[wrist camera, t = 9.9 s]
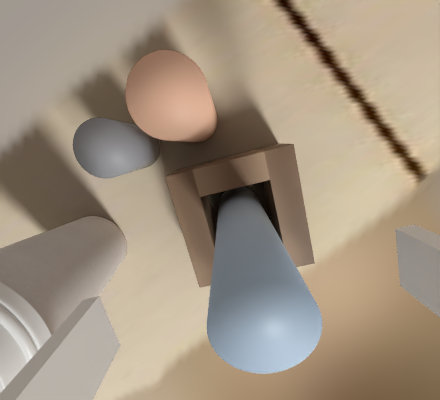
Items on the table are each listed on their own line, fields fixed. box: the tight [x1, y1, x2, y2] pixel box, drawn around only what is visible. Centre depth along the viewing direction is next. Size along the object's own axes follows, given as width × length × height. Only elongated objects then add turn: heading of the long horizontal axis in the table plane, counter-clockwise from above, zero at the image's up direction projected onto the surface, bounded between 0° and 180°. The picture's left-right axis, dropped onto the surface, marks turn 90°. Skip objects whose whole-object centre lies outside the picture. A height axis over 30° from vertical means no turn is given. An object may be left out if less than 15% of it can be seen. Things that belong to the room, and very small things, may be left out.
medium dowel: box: [125, 50, 218, 142], centre depth 16 cm, size 4×4×11 cm
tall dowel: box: [207, 187, 322, 373], centre depth 16 cm, size 4×4×16 cm
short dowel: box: [73, 118, 160, 178], centre depth 19 cm, size 4×4×7 cm
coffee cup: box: [0, 216, 127, 393], centre depth 18 cm, size 10×10×15 cm
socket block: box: [165, 144, 314, 287], centre depth 21 cm, size 10×10×5 cm
